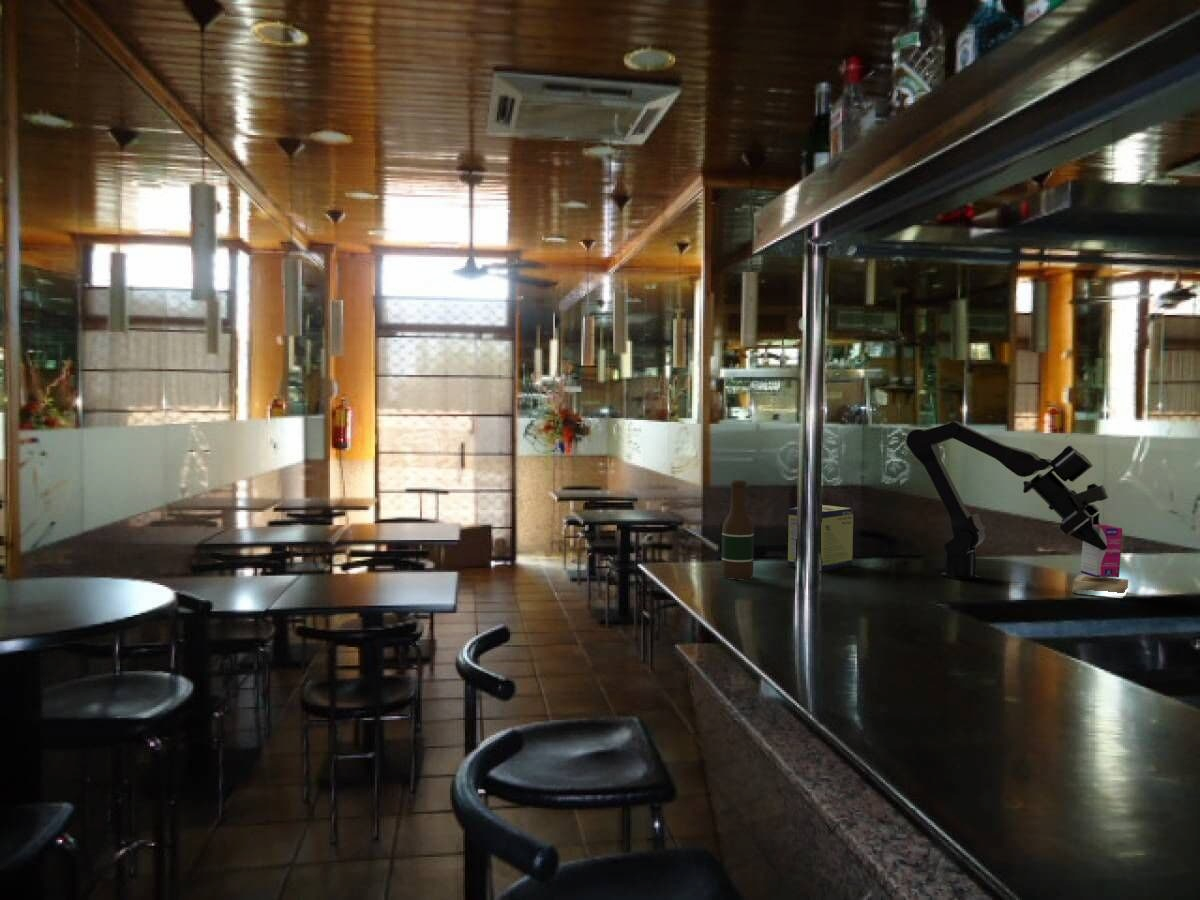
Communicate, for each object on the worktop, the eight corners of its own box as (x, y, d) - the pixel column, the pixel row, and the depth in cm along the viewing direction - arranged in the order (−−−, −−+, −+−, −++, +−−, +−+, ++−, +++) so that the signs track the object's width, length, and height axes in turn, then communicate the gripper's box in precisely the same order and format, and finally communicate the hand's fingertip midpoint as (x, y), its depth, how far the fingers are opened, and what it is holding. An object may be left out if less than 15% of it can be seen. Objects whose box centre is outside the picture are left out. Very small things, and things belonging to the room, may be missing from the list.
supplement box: (1096, 578, 203) (1099, 527, 202) (1079, 573, 209) (1082, 523, 208) (1120, 577, 204) (1123, 527, 203) (1103, 573, 210) (1105, 524, 209)
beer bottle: (755, 580, 218) (757, 481, 217) (723, 580, 218) (724, 481, 217) (750, 574, 226) (752, 479, 224) (719, 574, 226) (721, 478, 225)
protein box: (853, 565, 241) (854, 507, 240) (820, 572, 230) (821, 511, 229) (819, 560, 248) (820, 504, 248) (786, 566, 238) (787, 508, 237)
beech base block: (1072, 593, 205) (1072, 580, 205) (1079, 586, 213) (1079, 573, 213) (1122, 599, 199) (1123, 585, 199) (1127, 592, 207) (1128, 578, 207)
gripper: (1078, 474, 200) (1134, 528, 194) (1090, 470, 215) (1142, 520, 209) (1038, 506, 205) (1090, 560, 199) (1052, 500, 220) (1102, 550, 214)
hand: (1107, 546), depth 205 cm, fingers closed on supplement box, 8 cm apart
